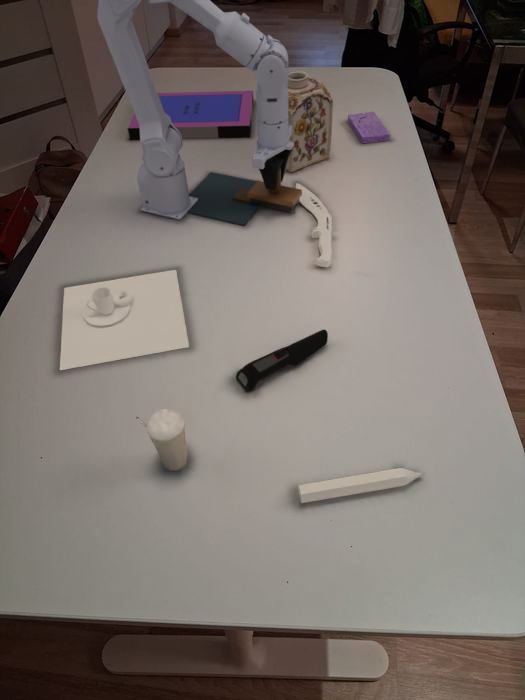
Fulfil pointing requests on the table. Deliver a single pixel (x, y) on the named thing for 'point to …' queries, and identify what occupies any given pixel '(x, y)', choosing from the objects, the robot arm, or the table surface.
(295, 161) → the decorative jar
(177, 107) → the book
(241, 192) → the grime chip
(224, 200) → the mat
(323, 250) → the knife
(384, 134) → the sponge
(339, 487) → the white pencil
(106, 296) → the teacup and saucer
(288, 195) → the brush
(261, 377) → the electric trimmer
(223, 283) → the table surface
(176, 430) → the milkshake
